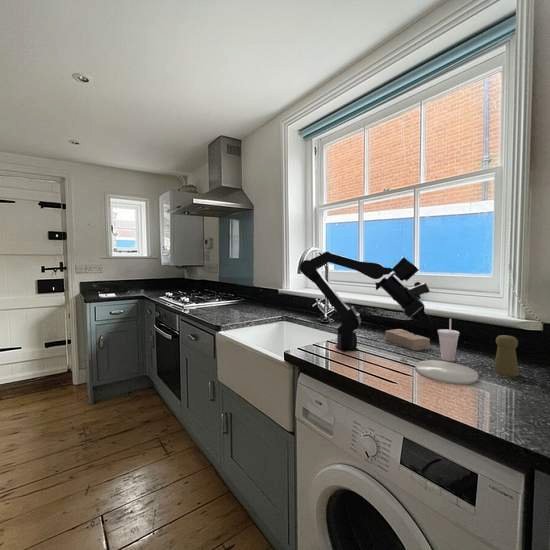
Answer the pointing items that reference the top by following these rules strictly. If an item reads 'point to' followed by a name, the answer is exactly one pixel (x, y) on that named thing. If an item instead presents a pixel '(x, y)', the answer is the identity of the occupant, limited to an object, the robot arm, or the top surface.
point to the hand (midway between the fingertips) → (430, 323)
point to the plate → (446, 372)
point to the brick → (407, 339)
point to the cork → (506, 356)
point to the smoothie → (448, 343)
